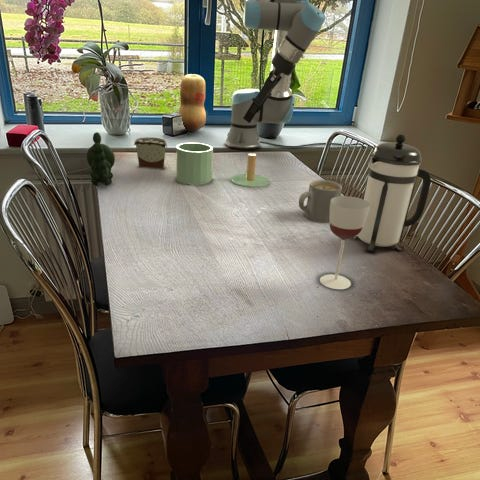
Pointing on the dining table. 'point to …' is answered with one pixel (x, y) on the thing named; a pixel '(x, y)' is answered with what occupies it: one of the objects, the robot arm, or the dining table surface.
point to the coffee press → (392, 193)
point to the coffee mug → (319, 199)
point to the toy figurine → (100, 161)
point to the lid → (250, 175)
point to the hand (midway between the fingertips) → (250, 115)
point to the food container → (151, 152)
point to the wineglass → (345, 230)
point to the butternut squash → (192, 102)
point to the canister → (194, 163)
